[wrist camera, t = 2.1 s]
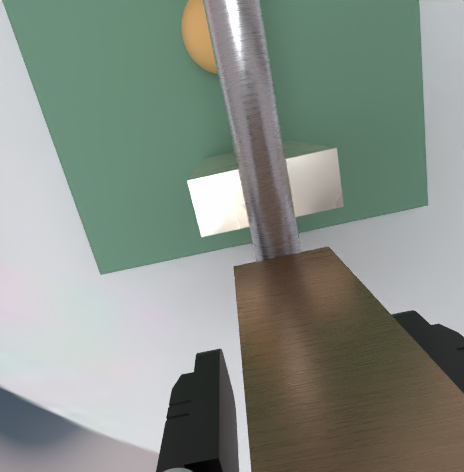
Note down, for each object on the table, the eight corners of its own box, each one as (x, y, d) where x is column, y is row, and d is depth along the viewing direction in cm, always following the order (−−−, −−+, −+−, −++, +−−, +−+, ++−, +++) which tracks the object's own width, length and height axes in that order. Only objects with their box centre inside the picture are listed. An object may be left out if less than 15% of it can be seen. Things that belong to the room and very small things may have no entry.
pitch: (394, -289, 16) (405, -316, 15) (419, 202, 23) (427, 205, 22) (-50, -172, 17) (-66, -190, 16) (105, 268, 24) (100, 274, 23)
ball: (249, -10, 18) (257, -47, 15) (263, 70, 20) (273, 56, 16) (177, 8, 18) (165, -24, 15) (195, 86, 20) (189, 75, 16)
